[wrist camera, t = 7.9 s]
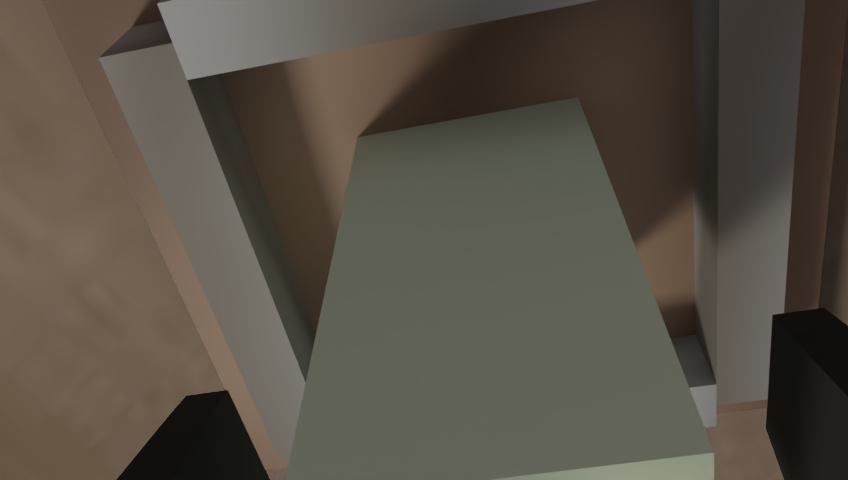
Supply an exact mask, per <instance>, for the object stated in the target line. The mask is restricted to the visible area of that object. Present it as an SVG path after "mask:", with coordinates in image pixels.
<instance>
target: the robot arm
mask: <svg viewBox="0 0 848 480" xmlns="http://www.w3.org/2000/svg"><path fill="white" fill-rule="evenodd" d="M766 430H767V432H768V435H769V438H770V441H771V444H772V447H773V449H774V452H775V455H776V458H777V461H778V463H779V466H780V469H781V472H782V474H783V477H784V480H848V326H847V325H846V324H844V323H843V322H842V321H840V320H839V319H838V318H837V317H835V316H834V315H833V314H831V313H830V312H829V311H827V310H826V309H825V308H818V309H811V310H804V311H796V312H789V313H782V314H775V315H772V332H771V349H770V367H769V385H768V402H767V420H766ZM117 480H270V479H269V477H268V475H267V473H266V470H265V468H264V466H263V464H262V462H261V460H260V458H259V455H258V453H257V451H256V449H255V447H254V445H253V443H252V441H251V438H250V436H249V434H248V432H247V430H246V428H245V426H244V424H243V421H242V419H241V417H240V415H239V413H238V411H237V409H236V406H235V404H234V402H233V400H232V398H231V396H230V394H229V392H228V390H226V391H219V392H211V393H204V394H197V395H190V396H186V397H185V398H184V399H183V400H182V402H181V403H180V404H179V405H178V406H177V407H176V408H175V409H174V411H173V412H172V413H171V414H170V415H169V417H168V418H167V419H166V420H165V421H164V423H163V424H162V425H161V426H160V427H159V429H158V430H157V431H156V432H155V434H154V435H153V436H152V437H151V438H150V440H149V441H148V442H147V443H146V445H145V446H144V447H143V448H142V449H141V451H140V452H139V453H138V454H137V456H136V457H135V458H134V459H133V460H132V462H131V463H130V464H129V465H128V467H127V468H126V469H125V470H124V471H123V473H122V474H121V475H120V476H119V477H118V479H117Z"/></svg>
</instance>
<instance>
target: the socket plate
mask: <svg viewBox="0 0 848 480" xmlns="http://www.w3.org/2000/svg"><path fill="white" fill-rule="evenodd" d="M42 2H43V4H44V6H45V9H46V11H47V13H48V15H49V17H50V19H51V21H52V23H53V26H54V28H55V30H56V32H57V34H58V36H59V38H60V40H61V42H62V45H63V47H64V49H65V51H66V53H67V55H68V57H69V59H70V62H71V64H72V66H73V68H74V70H75V72H76V74H77V76H78V78H79V81H80V83H81V85H82V87H83V89H84V91H85V93H86V95H87V97H88V100H89V102H90V104H91V106H92V108H93V110H94V112H95V114H96V117H97V119H98V121H99V123H100V125H101V127H102V129H103V131H104V133H105V136H106V138H107V140H108V142H109V144H110V146H111V148H112V150H113V153H114V155H115V157H116V159H117V161H118V163H119V165H120V167H121V169H122V172H123V174H124V176H125V178H126V180H127V182H128V184H129V186H130V189H131V191H132V193H133V195H134V197H135V199H136V201H137V203H138V205H139V208H140V210H141V212H142V214H143V216H144V218H145V220H146V222H147V224H148V227H149V229H150V231H151V233H152V235H153V237H154V239H155V241H156V244H157V246H158V248H159V250H160V252H161V254H162V256H163V258H164V260H165V263H166V265H167V267H168V269H169V271H170V273H171V275H172V277H173V280H174V282H175V284H176V286H177V288H178V290H179V292H180V294H181V296H182V299H183V301H184V303H185V305H186V307H187V309H188V311H189V313H190V315H191V318H192V320H193V322H194V324H195V326H196V328H197V330H198V332H199V335H200V337H201V339H202V341H203V343H204V345H205V347H206V349H207V351H208V354H209V356H210V358H211V360H212V362H213V364H214V366H215V368H216V371H217V373H218V375H219V377H220V379H221V381H222V383H223V385H224V387H225V390H228V392H229V394H230V396H231V398H232V400H233V402H234V404H235V406H236V409H237V411H238V413H239V415H240V417H241V419H242V421H243V424H244V426H245V428H246V430H247V432H248V434H249V436H250V438H251V441H252V443H253V445H254V447H255V449H256V451H257V453H258V455H259V458H260V460H261V462H262V464H263V466H264V468H265V470H272V469H280V468H288V465H289V460H290V455H291V450H292V446H293V441H294V436H295V431H296V427H297V422H298V417H299V412H300V408H301V403H302V398H303V393H304V389H305V384H306V379H307V374H308V370H309V365H310V360H311V356H312V351H313V346H314V341H315V337H316V332H317V327H318V322H319V318H320V313H321V308H322V303H323V299H324V294H325V289H326V284H327V280H328V275H329V270H330V265H331V261H332V256H333V251H334V247H335V242H336V237H337V232H338V228H339V223H340V218H341V213H342V209H343V204H344V199H345V194H346V190H347V185H348V180H349V175H350V171H351V166H352V161H353V156H354V152H355V147H356V142H357V137H361V136H367V135H372V134H378V133H383V132H389V131H394V130H400V129H405V128H411V127H416V126H422V125H427V124H433V123H438V122H444V121H449V120H455V119H460V118H466V117H471V116H477V115H482V114H488V113H493V112H499V111H504V110H510V109H515V108H521V107H526V106H532V105H537V104H543V103H548V102H554V101H559V100H565V99H570V98H576V97H578V99H579V101H580V104H581V106H582V109H583V112H584V114H585V117H586V120H587V122H588V125H589V127H590V130H591V133H592V135H593V138H594V140H595V143H596V146H597V148H598V151H599V153H600V156H601V159H602V161H603V164H604V166H605V169H606V172H607V174H608V177H609V180H610V182H611V185H612V187H613V190H614V193H615V195H616V198H617V200H618V203H619V206H620V208H621V211H622V213H623V216H624V219H625V221H626V224H627V227H628V229H629V232H630V234H631V237H632V240H633V242H634V245H635V247H636V250H637V253H638V255H639V258H640V260H641V263H642V266H643V268H644V271H645V274H646V276H647V279H648V281H649V284H650V287H651V289H652V292H653V294H654V297H655V300H656V302H657V305H658V307H659V310H660V313H661V315H662V318H663V321H664V323H665V326H666V328H667V331H668V334H669V336H670V339H671V341H672V344H673V347H674V349H675V352H676V354H677V357H678V360H679V362H680V365H681V368H682V370H683V373H684V375H685V378H686V381H687V383H688V386H689V388H690V391H691V394H692V396H693V399H694V401H695V404H696V407H697V409H698V412H699V415H700V417H701V420H702V422H703V425H704V428H707V427H715V426H716V414H720V413H728V412H736V411H744V410H752V409H760V408H767V402H768V385H769V367H770V349H771V332H772V315H775V314H782V313H789V312H796V311H804V310H811V309H818V308H819V298H820V287H821V277H822V267H823V257H824V247H825V237H826V227H827V216H828V206H829V196H830V186H831V176H832V166H833V156H834V146H835V135H836V125H837V115H838V105H839V95H840V85H841V75H842V64H843V54H844V44H845V34H846V24H847V14H848V0H42Z"/></svg>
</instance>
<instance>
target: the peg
mask: <svg viewBox="0 0 848 480" xmlns="http://www.w3.org/2000/svg"><path fill="white" fill-rule="evenodd" d="M285 480H714V451H713V448H712V446H711V443H710V441H709V438H708V435H707V433H706V430H705V428H704V425H703V422H702V420H701V417H700V415H699V412H698V409H697V407H696V404H695V401H694V399H693V396H692V394H691V391H690V388H689V386H688V383H687V381H686V378H685V375H684V373H683V370H682V368H681V365H680V362H679V360H678V357H677V354H676V352H675V349H674V347H673V344H672V341H671V339H670V336H669V334H668V331H667V328H666V326H665V323H664V321H663V318H662V315H661V313H660V310H659V307H658V305H657V302H656V300H655V297H654V294H653V292H652V289H651V287H650V284H649V281H648V279H647V276H646V274H645V271H644V268H643V266H642V263H641V260H640V258H639V255H638V253H637V250H636V247H635V245H634V242H633V240H632V237H631V234H630V232H629V229H628V227H627V224H626V221H625V219H624V216H623V213H622V211H621V208H620V206H619V203H618V200H617V198H616V195H615V193H614V190H613V187H612V185H611V182H610V180H609V177H608V174H607V172H606V169H605V166H604V164H603V161H602V159H601V156H600V153H599V151H598V148H597V146H596V143H595V140H594V138H593V135H592V133H591V130H590V127H589V125H588V122H587V120H586V117H585V114H584V112H583V109H582V106H581V104H580V101H579V99H578V97H576V98H570V99H565V100H559V101H554V102H548V103H543V104H537V105H532V106H526V107H521V108H515V109H510V110H504V111H499V112H493V113H488V114H482V115H477V116H471V117H466V118H460V119H455V120H449V121H444V122H438V123H433V124H427V125H422V126H416V127H411V128H405V129H400V130H394V131H389V132H383V133H378V134H372V135H367V136H361V137H357V142H356V147H355V152H354V156H353V161H352V166H351V171H350V175H349V180H348V185H347V190H346V194H345V199H344V204H343V209H342V213H341V218H340V223H339V228H338V232H337V237H336V242H335V247H334V251H333V256H332V261H331V265H330V270H329V275H328V280H327V284H326V289H325V294H324V299H323V303H322V308H321V313H320V318H319V322H318V327H317V332H316V337H315V341H314V346H313V351H312V356H311V360H310V365H309V370H308V374H307V379H306V384H305V389H304V393H303V398H302V403H301V408H300V412H299V417H298V422H297V427H296V431H295V436H294V441H293V446H292V450H291V455H290V460H289V465H288V469H287V474H286V479H285Z"/></svg>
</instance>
